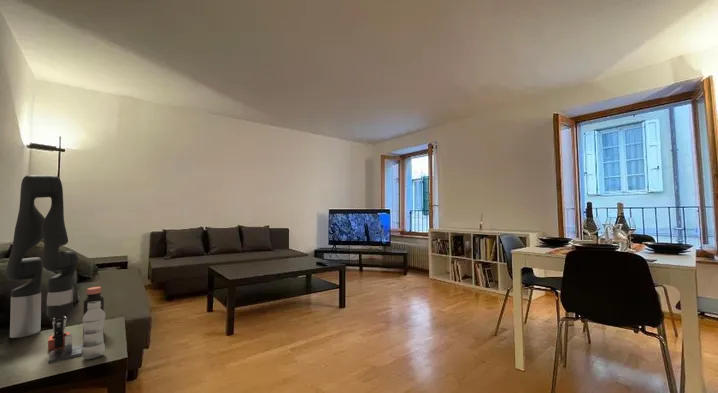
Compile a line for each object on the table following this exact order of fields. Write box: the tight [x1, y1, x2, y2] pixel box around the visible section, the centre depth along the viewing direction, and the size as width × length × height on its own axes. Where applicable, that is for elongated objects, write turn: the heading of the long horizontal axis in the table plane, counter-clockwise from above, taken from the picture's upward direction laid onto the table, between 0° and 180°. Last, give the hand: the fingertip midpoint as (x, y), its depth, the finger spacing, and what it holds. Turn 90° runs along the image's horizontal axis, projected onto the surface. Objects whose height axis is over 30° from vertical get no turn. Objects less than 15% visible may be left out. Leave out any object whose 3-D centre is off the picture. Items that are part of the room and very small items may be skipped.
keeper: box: [47, 333, 83, 365], centre depth 117 cm, size 10×10×7 cm
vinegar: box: [82, 286, 105, 337], centre depth 136 cm, size 7×7×20 cm
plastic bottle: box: [81, 301, 107, 360], centre depth 114 cm, size 6×7×20 cm
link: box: [47, 331, 71, 352], centre depth 124 cm, size 6×6×4 cm
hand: (59, 344), depth 124 cm, fingers closed on link, 6 cm apart
